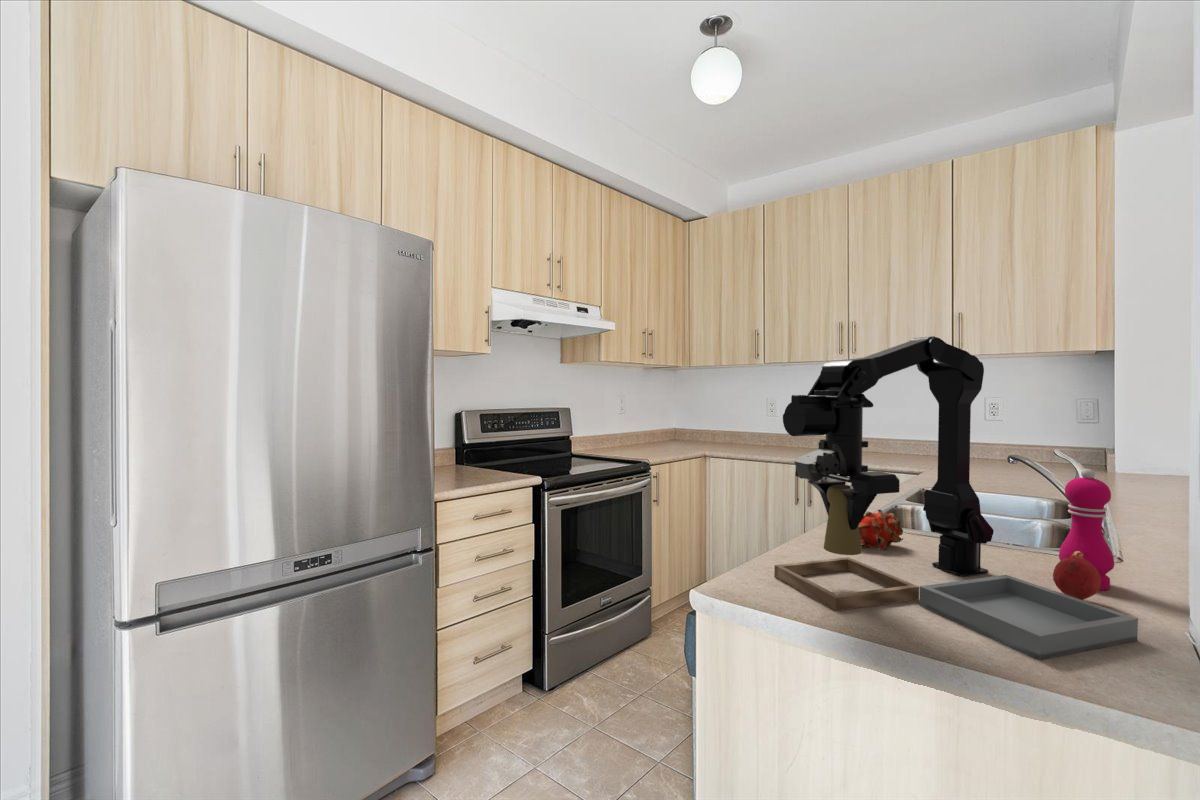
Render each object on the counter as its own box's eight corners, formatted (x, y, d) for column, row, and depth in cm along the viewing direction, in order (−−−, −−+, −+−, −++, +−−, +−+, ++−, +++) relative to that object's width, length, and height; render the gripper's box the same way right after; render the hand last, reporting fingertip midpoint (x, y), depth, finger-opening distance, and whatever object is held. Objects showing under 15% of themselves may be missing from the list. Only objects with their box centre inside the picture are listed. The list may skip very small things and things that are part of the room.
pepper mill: (1118, 594, 91) (1121, 473, 90) (1062, 586, 95) (1064, 469, 94) (1108, 581, 97) (1110, 467, 97) (1055, 574, 101) (1057, 464, 100)
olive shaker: (866, 556, 91) (867, 489, 91) (827, 554, 92) (827, 488, 92) (857, 545, 97) (857, 482, 97) (820, 543, 98) (820, 481, 98)
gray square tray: (1005, 592, 92) (1006, 574, 92) (1137, 640, 75) (1137, 618, 75) (919, 605, 87) (919, 586, 87) (1039, 659, 70) (1040, 636, 70)
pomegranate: (1089, 611, 84) (1090, 559, 84) (1045, 598, 90) (1046, 549, 89) (1107, 604, 87) (1108, 553, 87) (1063, 592, 92) (1064, 544, 92)
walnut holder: (848, 567, 105) (848, 557, 105) (919, 599, 89) (919, 586, 89) (774, 576, 100) (774, 565, 100) (835, 610, 85) (835, 597, 85)
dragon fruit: (906, 553, 119) (858, 566, 116) (880, 522, 125) (834, 534, 122) (921, 528, 113) (871, 540, 111) (893, 497, 120) (845, 508, 117)
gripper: (770, 431, 101) (769, 517, 101) (842, 441, 83) (841, 545, 83) (822, 429, 104) (821, 512, 104) (902, 439, 86) (901, 539, 86)
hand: (842, 526), depth 94 cm, fingers closed on olive shaker, 4 cm apart
